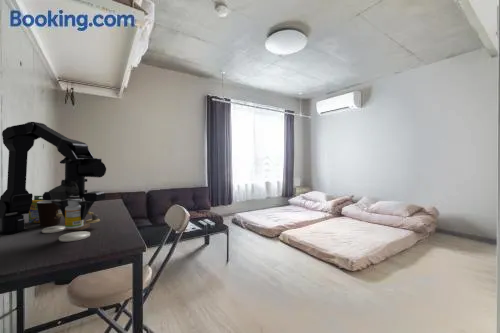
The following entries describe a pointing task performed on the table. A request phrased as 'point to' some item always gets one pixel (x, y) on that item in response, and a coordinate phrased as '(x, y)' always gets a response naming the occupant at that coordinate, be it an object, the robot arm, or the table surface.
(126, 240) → the table surface
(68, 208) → the supplement bottle
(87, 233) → the dish low
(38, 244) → the table surface
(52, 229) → the dish high
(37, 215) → the crayon box
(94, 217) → the balance
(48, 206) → the coffee mug
